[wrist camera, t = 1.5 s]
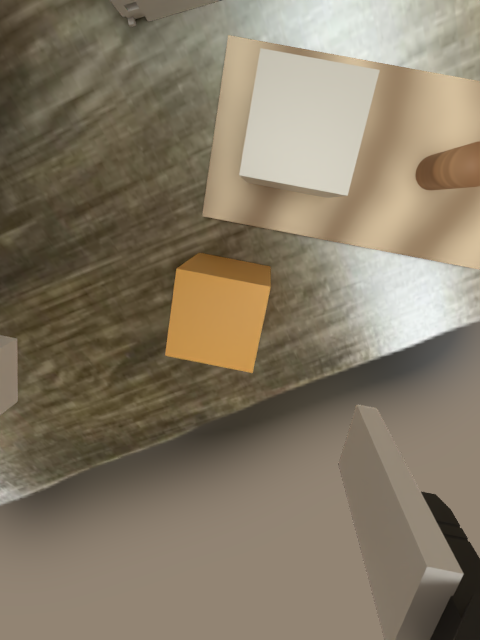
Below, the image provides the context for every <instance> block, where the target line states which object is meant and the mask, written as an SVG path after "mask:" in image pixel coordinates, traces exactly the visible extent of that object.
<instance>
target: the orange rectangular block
mask: <svg viewBox="0 0 480 640" xmlns="http://www.w3.org/2000/svg"><path fill="white" fill-rule="evenodd" d="M270 288H271V269H270V266H266V265H261V264H256V263H250V262H245V261H240V260H235V259H230V258H225V257H219V256H214V255H209V254H204V253H198V254H197V255H195V256H194V257H192V258H191V259H189V260H188V261H187V262H185V263H184V264H182V265H181V266H179V267H178V268H177V269H176V276H175V284H174V291H173V299H172V307H171V314H170V322H169V330H168V337H167V345H166V353H165V356H170V357H175V358H180V359H185V360H190V361H195V362H200V363H205V364H210V365H215V366H220V367H225V368H230V369H235V370H240V371H245V372H250V373H253V368H254V364H255V359H256V354H257V349H258V345H259V340H260V335H261V330H262V326H263V321H264V316H265V311H266V307H267V302H268V297H269V293H270Z"/></svg>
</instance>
